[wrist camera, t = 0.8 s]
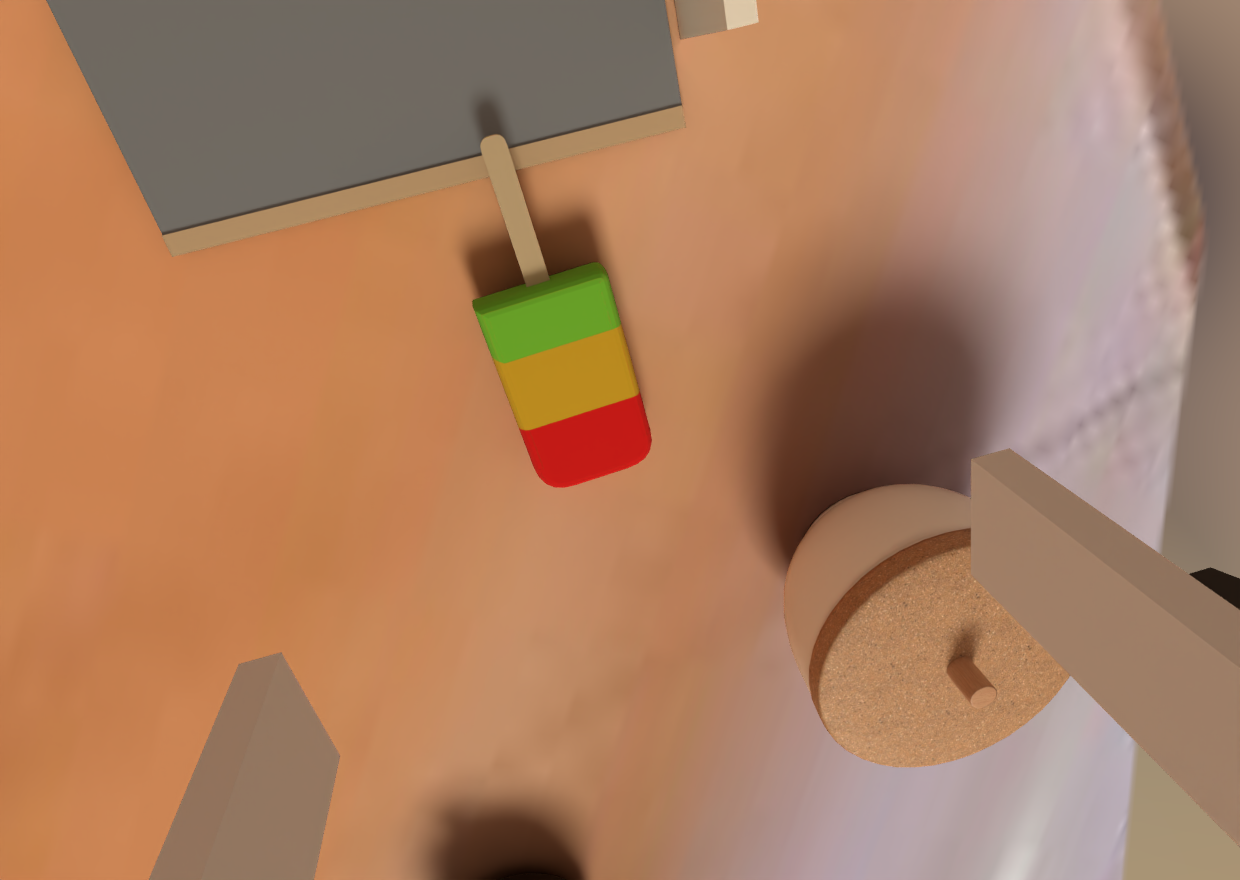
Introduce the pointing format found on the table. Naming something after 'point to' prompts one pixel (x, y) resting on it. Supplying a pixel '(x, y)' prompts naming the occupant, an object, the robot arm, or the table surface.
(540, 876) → the mug
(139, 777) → the table surface
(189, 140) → the slate board
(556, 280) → the popsicle
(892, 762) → the lidded bowl
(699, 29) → the word card
